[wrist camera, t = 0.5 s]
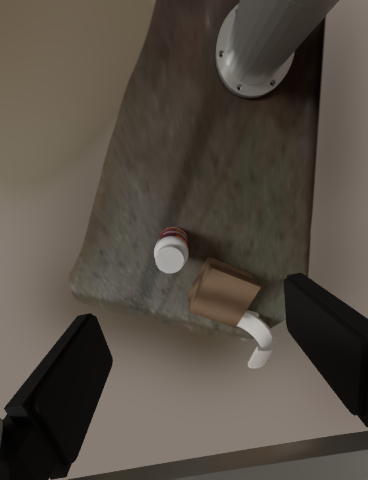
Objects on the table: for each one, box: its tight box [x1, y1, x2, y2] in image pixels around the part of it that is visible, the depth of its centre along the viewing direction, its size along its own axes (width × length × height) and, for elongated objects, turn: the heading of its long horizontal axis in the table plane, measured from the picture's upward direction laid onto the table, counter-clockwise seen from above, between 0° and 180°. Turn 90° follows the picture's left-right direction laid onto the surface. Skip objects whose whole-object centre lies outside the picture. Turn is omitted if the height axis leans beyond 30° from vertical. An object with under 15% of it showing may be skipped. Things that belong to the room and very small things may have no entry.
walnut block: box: [188, 256, 261, 328], centre depth 41 cm, size 11×11×6 cm
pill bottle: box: [154, 227, 188, 273], centre depth 35 cm, size 6×6×11 cm
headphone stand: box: [237, 310, 276, 368], centre depth 41 cm, size 5×6×12 cm
